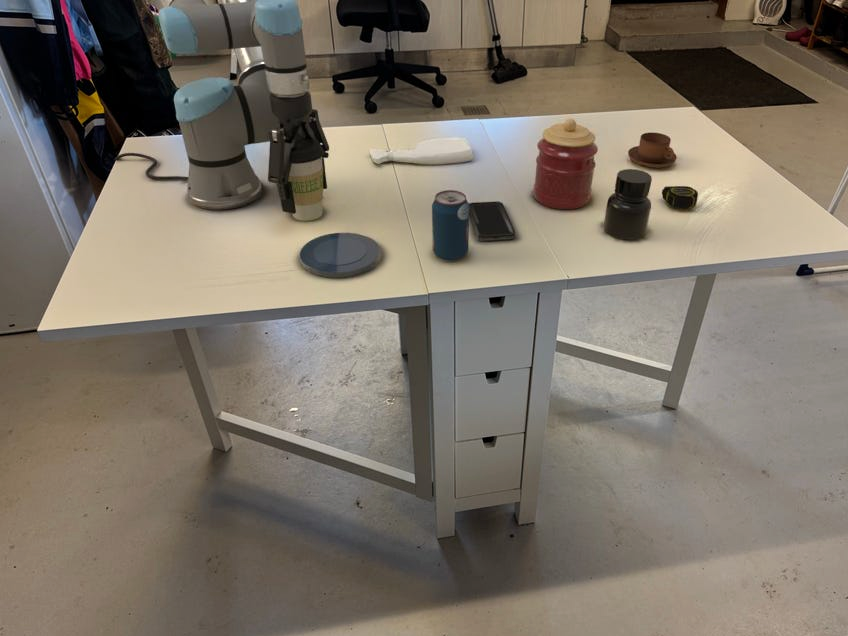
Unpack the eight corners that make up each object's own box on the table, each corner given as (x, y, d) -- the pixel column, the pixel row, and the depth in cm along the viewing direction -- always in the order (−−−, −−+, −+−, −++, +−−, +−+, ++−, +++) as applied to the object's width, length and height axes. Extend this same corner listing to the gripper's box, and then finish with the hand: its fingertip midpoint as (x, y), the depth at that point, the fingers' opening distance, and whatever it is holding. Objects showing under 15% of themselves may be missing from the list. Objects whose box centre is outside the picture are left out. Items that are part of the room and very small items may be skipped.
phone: (501, 201, 144) (516, 234, 132) (501, 205, 144) (515, 239, 133) (466, 202, 143) (477, 236, 131) (465, 207, 143) (477, 241, 132)
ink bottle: (648, 223, 140) (659, 169, 133) (647, 243, 134) (659, 188, 126) (602, 218, 142) (610, 164, 134) (599, 237, 135) (608, 182, 127)
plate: (285, 268, 122) (284, 262, 121) (326, 232, 133) (325, 226, 132) (357, 284, 119) (356, 278, 118) (393, 246, 130) (393, 240, 129)
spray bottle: (474, 163, 162) (374, 171, 158) (464, 146, 170) (369, 153, 166) (474, 151, 160) (373, 159, 156) (464, 135, 168) (368, 142, 164)
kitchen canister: (601, 198, 149) (614, 120, 138) (567, 216, 142) (577, 135, 131) (556, 180, 156) (564, 104, 145) (521, 197, 148) (527, 118, 137)
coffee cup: (320, 227, 135) (311, 156, 125) (275, 221, 136) (262, 150, 126) (338, 206, 142) (330, 137, 133) (295, 201, 143) (284, 132, 134)
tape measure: (689, 198, 150) (692, 183, 148) (699, 212, 145) (703, 196, 143) (660, 199, 150) (663, 183, 147) (669, 212, 145) (672, 197, 142)
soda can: (475, 256, 127) (476, 199, 120) (445, 267, 124) (445, 208, 117) (455, 241, 132) (455, 185, 124) (425, 251, 128) (424, 194, 121)
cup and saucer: (681, 159, 168) (687, 136, 164) (665, 175, 160) (670, 151, 156) (637, 149, 173) (641, 125, 169) (619, 163, 165) (623, 139, 161)
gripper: (270, 114, 113) (289, 228, 127) (338, 77, 131) (349, 180, 145) (233, 108, 115) (256, 221, 129) (305, 72, 133) (319, 174, 147)
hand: (305, 199), depth 137 cm, fingers open, 12 cm apart
